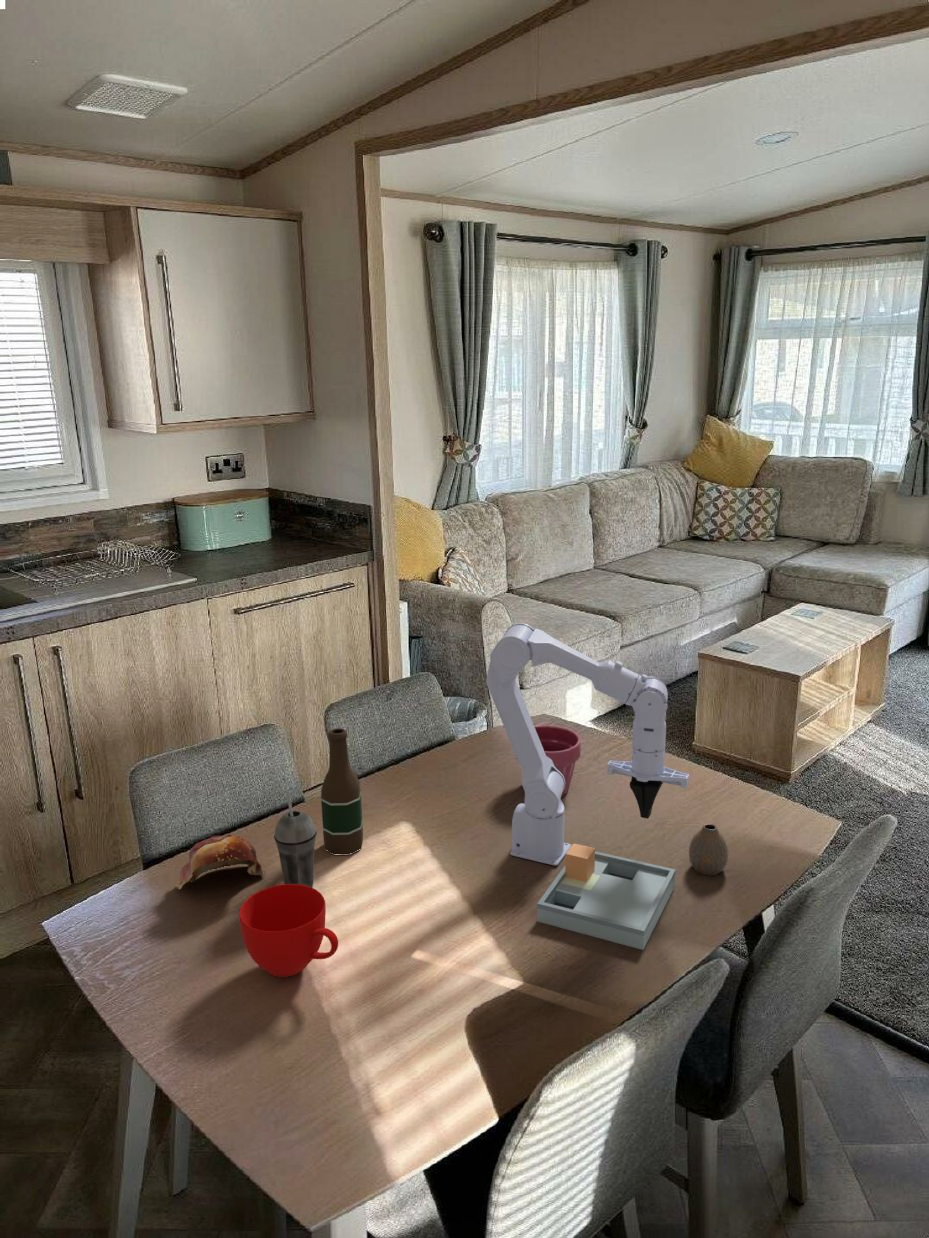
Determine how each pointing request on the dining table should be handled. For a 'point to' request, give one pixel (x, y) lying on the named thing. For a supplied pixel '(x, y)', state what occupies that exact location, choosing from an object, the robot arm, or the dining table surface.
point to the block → (580, 862)
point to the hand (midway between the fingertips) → (645, 815)
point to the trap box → (610, 900)
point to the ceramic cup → (285, 928)
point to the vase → (708, 851)
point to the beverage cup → (296, 846)
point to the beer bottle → (341, 800)
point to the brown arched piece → (219, 857)
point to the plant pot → (560, 749)
